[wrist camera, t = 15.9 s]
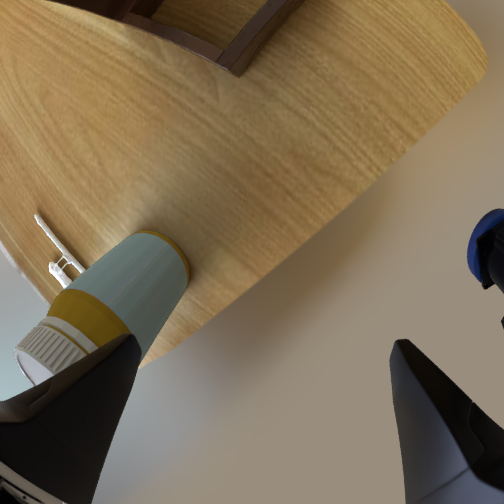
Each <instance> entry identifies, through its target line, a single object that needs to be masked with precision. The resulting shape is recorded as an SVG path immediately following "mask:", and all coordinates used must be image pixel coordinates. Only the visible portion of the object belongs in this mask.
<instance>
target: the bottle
mask: <svg viewBox="0 0 504 504" xmlns="http://www.w3.org/2000/svg"><path fill="white" fill-rule="evenodd" d="M189 278H190V272H189V267H188V263H187V260H186V258H185V257H184V255H183V253H182V251H181V250H180V249H179V248H178V247H177V245H176V244H175V243H174V242H173V241H172V240H170V239H169V238H167V237H166V236H164V235H162V234H160V233H157V232H154V231H138V232H136V233H133V234H131V235H130V236H128V237H127V238H126V239H124V240H123V241H122V242H120V243H119V244H118V245H116V246H115V247H114V248H113V249H111V250H110V251H109V252H108V253H106V254H105V255H104V256H103V257H101V258H100V259H99V260H98V261H97V262H95V263H94V264H93V265H92V266H90V267H89V268H88V269H87V270H86V271H85V272H83V273H82V274H81V275H80V276H79V277H77V278H76V279H75V280H74V281H73V282H72V283H71V284H69V285H68V286H67V287H66V288H65V289H64V290H63V291H62V292H60V294H59V295H58V296H57V297H56V298H55V299H54V301H53V302H52V304H51V307H50V309H49V311H48V314H47V316H46V318H44V319H43V320H42V321H41V322H40V323H39V324H38V325H37V327H34V328H33V329H32V330H31V331H30V332H29V333H28V334H27V335H26V336H25V337H24V339H23V340H22V341H21V342H20V343H19V344H18V345H17V346H16V348H15V350H14V358H15V360H16V362H17V364H18V366H19V368H20V369H21V371H22V372H23V374H24V375H25V377H26V378H27V379H28V381H29V382H30V383H31V384H32V385H33V386H36V385H38V384H40V383H41V382H43V381H45V380H47V379H48V378H50V377H52V376H54V375H55V374H57V373H58V372H60V371H62V370H63V369H65V368H67V367H68V366H70V365H71V364H73V363H75V362H76V361H78V360H80V359H81V358H83V357H85V356H86V355H88V354H90V353H91V352H93V351H95V350H96V349H98V348H99V347H101V346H103V345H104V344H106V343H108V342H109V341H111V340H113V339H114V338H116V337H118V336H119V335H121V334H123V333H131V334H134V335H135V336H136V338H137V341H138V343H139V345H140V347H141V349H142V356H141V360H140V363H141V361H142V360H143V358H144V356H145V355H146V353H147V351H148V350H149V348H150V346H151V345H152V343H153V342H154V340H155V338H156V337H157V335H158V333H159V332H160V330H161V329H162V327H163V325H164V324H165V322H166V321H167V319H168V317H169V316H170V314H171V313H172V311H173V309H174V308H175V306H176V305H177V303H178V302H179V300H180V298H181V297H182V295H183V294H184V292H185V290H186V288H187V287H188V284H189ZM140 363H139V365H140Z"/></svg>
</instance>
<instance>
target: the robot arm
mask: <svg viewBox="0 0 504 504" xmlns="http://www.w3.org/2000/svg"><path fill="white" fill-rule="evenodd" d="M480 241H481V242H480ZM476 248H477V254H478V260H479V267H480V274H481V283H482V287H483V289H484V290H486V289H488V288H490V287H491V286H493V285H494V284H496V285H497V286H498V287H499V289H501V291H502V292H503V293H504V220H502V221H501V222H500V223H498V224H497V225H495V226H494V227H492V228H491V229H489V230H488V231H486V232H485V233H483V234H482V235H480V236H479V237H478V238H477V239H476ZM501 323H502V326H503V328H504V317H503V319H502V320H501ZM141 356H142V349H141V347H140V345H139V343H138V341H137V338H136V336H135V335H134V334H131V333H123V334H121V335H119V336H118V337H116V338H114V339H113V340H111V341H109V342H108V343H106V344H104V345H103V346H101V347H99V348H98V349H96V350H95V351H93V352H91V353H90V354H88V355H86V356H85V357H83V358H81V359H80V360H78V361H76V362H75V363H73V364H71V365H70V366H68V367H67V368H65V369H63V370H62V371H60V372H58V373H57V374H55V375H54V376H52V377H50V378H48V379H47V380H45V381H43V382H41V383H40V384H38V385H36V386H34V387H33V388H30V389H28V390H26V391H24V392H22V393H21V394H18V395H16V396H14V397H12V398H10V399H8V400H5V401H0V504H64V502H65V503H67V504H91V503H92V500H93V496H94V493H95V490H96V487H97V484H98V480H99V477H100V473H101V471H102V468H103V465H104V462H105V459H106V456H107V453H108V450H109V448H110V445H111V442H112V439H113V436H114V434H115V431H116V428H117V426H118V423H119V420H120V417H121V415H122V412H123V410H124V407H125V405H126V402H127V400H128V397H129V395H130V392H131V389H132V386H133V383H134V380H135V376H136V373H137V369H138V366H139V363H140V360H141ZM390 371H391V383H392V394H393V405H394V411H395V416H396V422H397V427H398V434H399V441H400V448H401V455H402V464H403V473H404V484H405V499H406V504H504V429H502V428H501V427H500V426H499V425H498V424H496V423H495V422H494V421H493V420H492V419H491V418H490V417H489V416H487V415H486V414H485V413H484V412H483V411H482V410H481V409H480V408H479V407H478V406H477V405H476V404H475V403H474V402H473V403H472V400H471V399H470V398H469V397H468V396H467V395H466V394H465V393H464V392H463V391H462V390H461V389H460V388H459V387H458V386H457V385H456V384H455V383H454V382H453V381H452V380H451V379H450V378H449V377H448V376H447V375H446V374H445V373H444V372H443V371H442V370H440V369H439V368H438V367H437V366H436V365H435V364H434V363H433V362H432V361H431V360H430V359H429V358H428V357H427V356H426V355H424V353H422V352H421V351H420V350H419V349H418V348H417V347H416V346H415V345H414V344H413V343H412V342H411V341H410V340H408V339H399V340H396V341H395V343H394V346H393V349H392V353H391V356H390Z"/></svg>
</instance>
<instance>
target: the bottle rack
mask: <svg viewBox="0 0 504 504" xmlns="http://www.w3.org/2000/svg"><path fill="white" fill-rule="evenodd" d="M46 1H51V2H55V3H59V4H63V5H67V6H70V7H74V8H77V9H81V10H84V11H87V12H90V13H93V14H96V15H99V16H102V17H105V18H107V19H110V20H113V21H115V22H118V23H121V24H123V25H126V26H129V27H131V28H134V29H137V30H140V31H142V32H145V33H147V34H150V35H152V36H155V37H157V38H160V39H162V40H164V41H167V42H169V43H171V44H173V45H176V46H178V47H180V48H182V49H184V50H186V51H188V52H190V53H193V54H195V55H197V56H199V57H201V58H203V59H204V60H206V61H208V62H210V63H212V64H214V65H216V66H218V67H220V68H221V69H223V70H225V71H227V72H229V73H230V74H232V75H234V76H236V77H237V78H240V76H241V75H242V74H243V72H244V71H245V70H246V68H247V67H248V66H249V65H250V63H251V62H252V61H253V59H254V58H255V57H256V56H257V54H258V53H259V52H260V51H261V49H262V48H263V47H264V46H265V45H266V43H267V42H268V41H269V40H270V39H271V37H272V36H273V35H274V34H275V33H276V32H277V30H278V29H279V28H280V27H281V26H282V25H283V24H284V22H285V21H286V20H287V19H288V18H289V17H290V16H291V15H292V14H293V13H294V12H295V10H296V9H297V8H298V7H299V6H300V5H301V4H302V3H303V2H304V1H305V0H268V1H267V2H266V3H265V4H264V5H263V6H262V7H261V8H260V9H259V10H258V12H257V13H256V14H255V15H254V16H253V17H252V18H251V19H250V21H249V22H248V23H247V24H246V25H245V27H244V28H243V29H242V30H241V31H240V33H239V34H238V35H237V36H236V37H235V39H234V40H233V41H232V42H231V44H230V45H229V46H228V48H227V49H226V50H225V51H224V50H222V49H220V48H218V47H216V46H214V45H212V44H210V43H208V42H206V41H204V40H202V39H199V38H197V37H195V36H193V35H191V34H188V33H186V32H184V31H181V30H179V29H176V28H174V27H171V26H169V25H166V24H164V23H161V22H158V21H156V20H153V19H150V18H151V16H152V15H153V14H154V12H155V11H156V10H157V8H158V7H159V6H160V4H161V3H162V2H163V1H164V0H46Z"/></svg>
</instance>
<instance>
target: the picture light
mask: <svg viewBox="0 0 504 504" xmlns="http://www.w3.org/2000/svg"><path fill="white" fill-rule="evenodd" d="M34 215H35V218H36V221H37V223H38V224H39V225H40V226H41V227H42V229H43V230H44V231H45V232H46V234H47V235H48V236H49V237H50V238H51V240H52V241H53V242H54V243H55V244H56V246H57V247H58V248H59V249H60V250H61V252H62V253H63V254H62V256H63V257H64V258H65V259H66V260H67V263H69V264H70V263H72V264H73V265H74V266H75V267H76V268H77V270H78V271H79V272H80V273H81V274H82V273H83V272H85V271H86V270H85V269H84V268H83V267H82V266H81V265H80V263H79V262H78V261H77V260H76V259H75V258H74V257H73V256H72V255H71V253H70V252H69V251H68V250H67V249H66V248H65V247H64V245H63V244H62V243H61V242H60V241H59V240H58V238H57V237H56V236H55V235H54V234H53V232H52V231H51V230H50V229H49V227H48V226H47V225H46V224H45V222H44V221H43V219H42V218H40V216H38V215H37V214H34ZM63 257H62V258H63ZM62 258H61V259H62ZM61 259H60V260H61ZM60 260H59V261H58V262H57V263H53V262H50V263H49V272H50V273H52V274H53V275H54V276H55V277H56V279H57V280H58V281H59V282H60V283H61V284H62V286H63V288H66V287H67V286H68V285H69V284H71V282H72V280H71V279H70V278H68V277H67V276H66V274H65V273H64V272H63V271H62V269H63V268H64V267H65V265H66V264H67V263H66V264H65V265H64V266H63V267H62V269H61V268H60V267H59V266H58V263H59V262H60Z"/></svg>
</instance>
